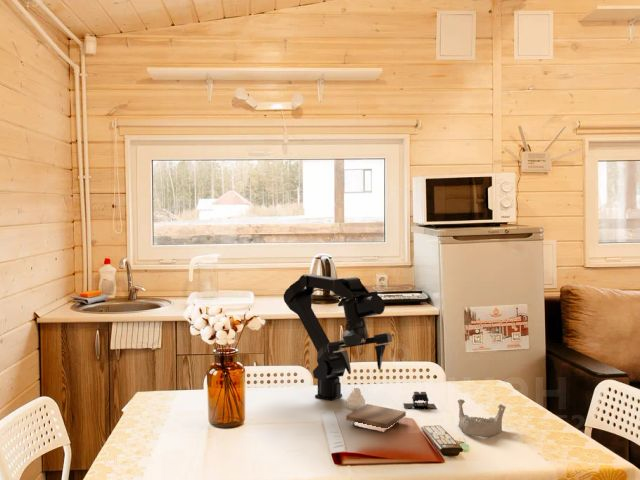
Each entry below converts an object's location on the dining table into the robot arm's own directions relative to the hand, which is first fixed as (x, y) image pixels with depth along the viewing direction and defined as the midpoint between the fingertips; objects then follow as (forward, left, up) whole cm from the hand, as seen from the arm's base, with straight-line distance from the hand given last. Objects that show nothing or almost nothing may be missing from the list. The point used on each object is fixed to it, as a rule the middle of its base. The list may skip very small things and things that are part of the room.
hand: (364, 371), depth 181 cm
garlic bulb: (-3, 0, -11) cm, 12 cm away
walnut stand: (+9, -10, -11) cm, 17 cm away
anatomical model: (+34, +1, -11) cm, 36 cm away
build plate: (+13, +11, -12) cm, 21 cm away
